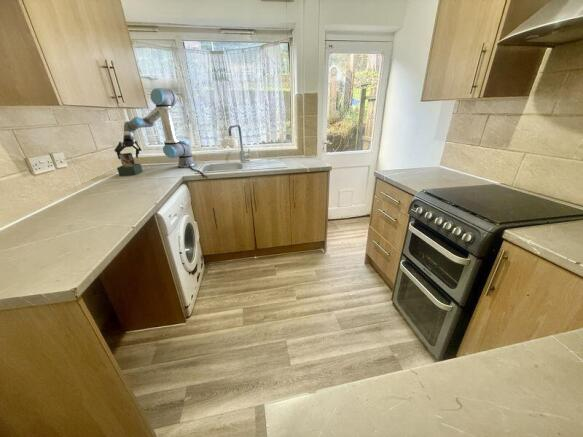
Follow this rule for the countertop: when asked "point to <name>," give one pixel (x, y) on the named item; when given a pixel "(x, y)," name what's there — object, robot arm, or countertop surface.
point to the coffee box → (127, 160)
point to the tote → (129, 170)
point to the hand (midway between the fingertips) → (127, 157)
